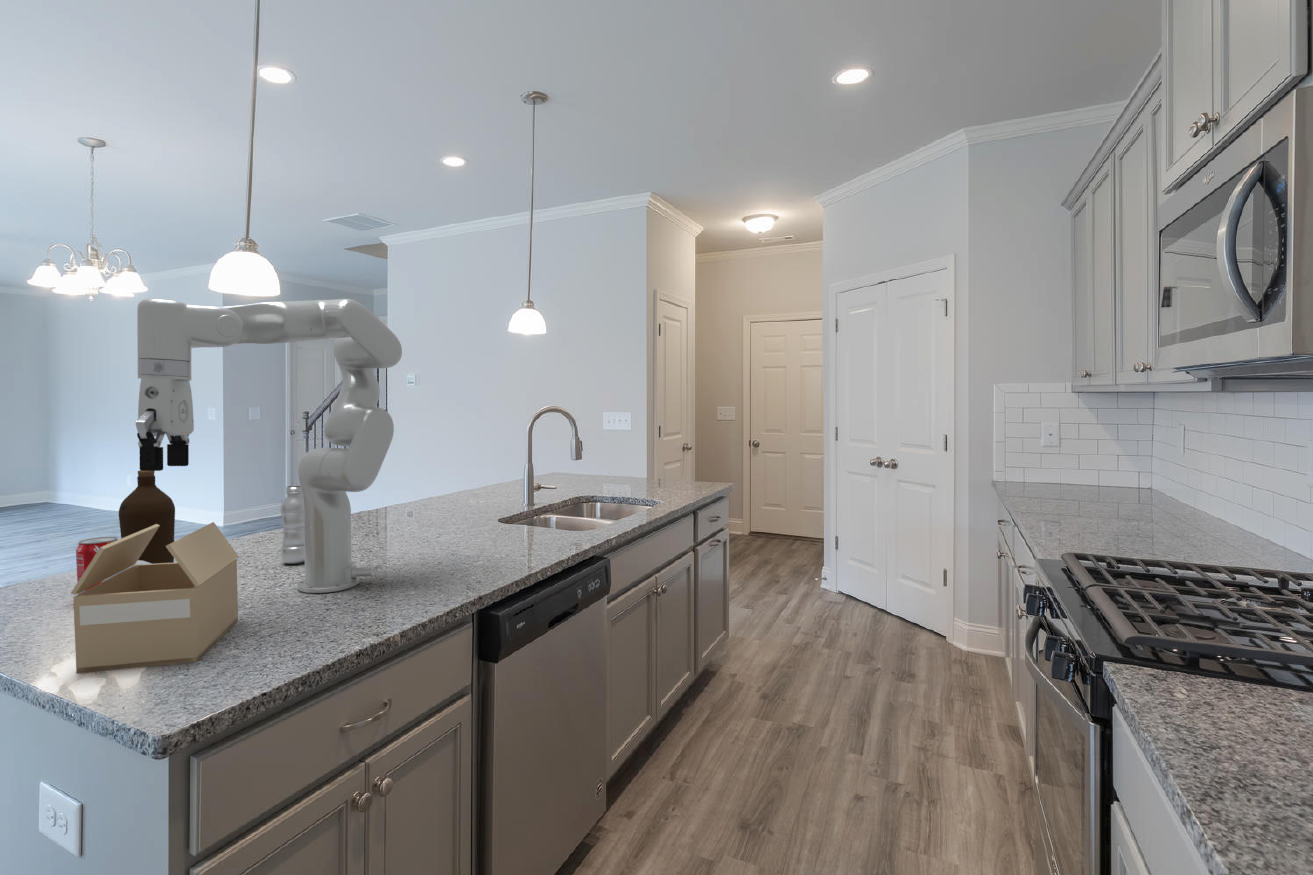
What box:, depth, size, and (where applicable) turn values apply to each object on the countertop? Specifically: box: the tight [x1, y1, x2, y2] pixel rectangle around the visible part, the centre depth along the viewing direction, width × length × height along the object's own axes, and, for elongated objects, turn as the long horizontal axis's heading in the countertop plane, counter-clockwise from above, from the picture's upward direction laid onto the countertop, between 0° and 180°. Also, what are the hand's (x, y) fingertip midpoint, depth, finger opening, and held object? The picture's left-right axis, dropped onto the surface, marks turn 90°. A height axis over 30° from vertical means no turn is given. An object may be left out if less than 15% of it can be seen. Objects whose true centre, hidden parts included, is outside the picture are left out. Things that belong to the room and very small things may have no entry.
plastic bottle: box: [279, 485, 305, 565], centre depth 165 cm, size 6×7×20 cm
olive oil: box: [118, 469, 176, 564], centre depth 154 cm, size 11×11×25 cm
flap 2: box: [166, 521, 239, 587], centre depth 111 cm, size 8×19×1 cm
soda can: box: [75, 535, 119, 595], centre depth 133 cm, size 7×7×13 cm
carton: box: [72, 558, 239, 674], centre depth 110 cm, size 16×20×12 cm
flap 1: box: [70, 524, 160, 596], centre depth 108 cm, size 8×19×1 cm
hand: (165, 468), depth 113 cm, fingers open, 9 cm apart
